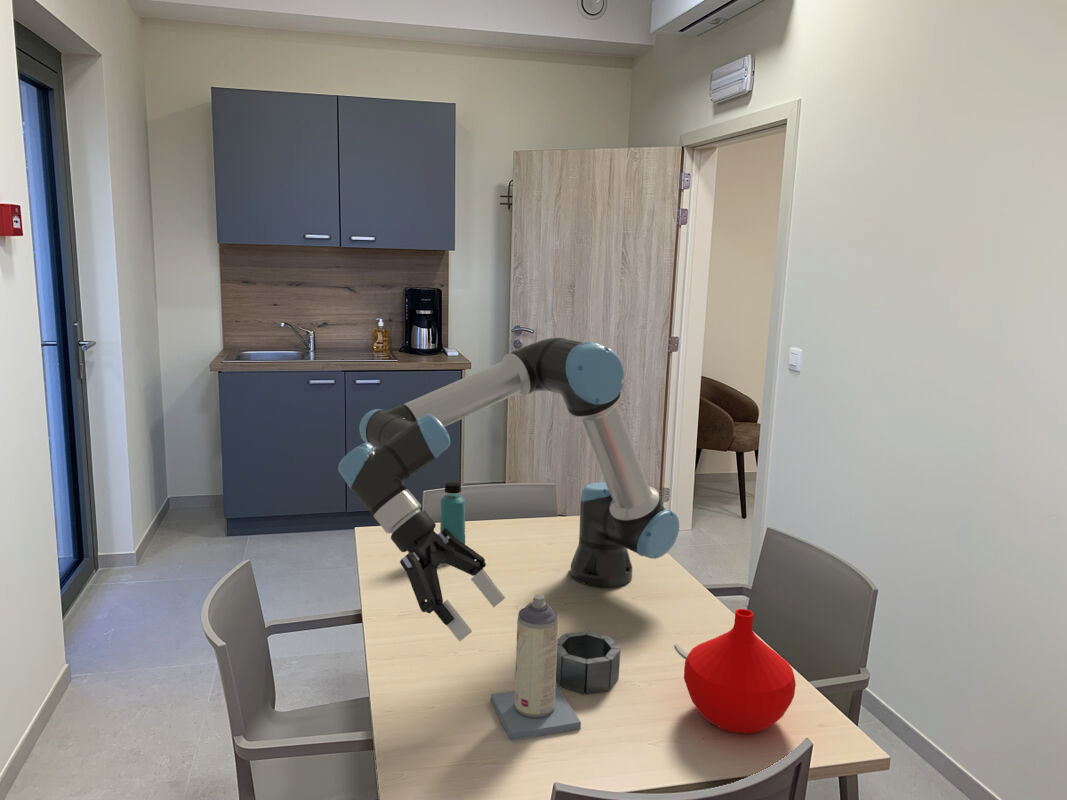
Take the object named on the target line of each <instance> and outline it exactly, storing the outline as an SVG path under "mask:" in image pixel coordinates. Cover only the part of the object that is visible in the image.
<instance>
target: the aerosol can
mask: <svg viewBox="0 0 1067 800" xmlns="http://www.w3.org/2000/svg"><path fill="white" fill-rule="evenodd" d="M558 616H559V615H558V612H557V611H556V610H555V609H554V608H552V606H550V605H549V604H548V603H547V602H546V601H545V596H544V595H542V594H535V595H533V600H532V601H531V602H530V603H528V604H527V605H525V607H524V608H523V607H522V608H521V609H520V610H519V611H518V616H517V622H516V623H517V624H516V646H515V647H516V651H515V655H516V656H515V678H514V679H515V683H514V685H515V686H514V691H515V707H514V708H515V710H516V712H517V713H518V714H519V715H521V716H523V717H526V718H530V719H541V718H545V717H548V716H550V715H551V714H552V713H553V712H554V708H555V686H557V682H556V663H557V640H558V639H559V637H558V636H559V635H558V633H559V617H558Z"/></svg>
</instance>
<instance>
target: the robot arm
mask: <svg viewBox="0 0 1067 800" xmlns="http://www.w3.org/2000/svg"><path fill="white" fill-rule="evenodd" d="M624 379H625V370H624V366H623V362H622V361H621V359H620V357H619V356H618V355H617V353H616V352H615V351H613V350H612V349H610V348H609V347H607V346H606V345H605V346H604V345H602V344H599V343H597V342H590V341H581V340H574V339H568V338H563V337H550V338H546V339H542V340H539V341H536V342H534V343H530V344H528V345H526V346H523V347H520V348H518V349H515V350H514V351H511V352H509V353H506V354H505V355H504V356H503V358H502V361H500V362H498V363H495V364H493V365H491V366H489V367H486V368H483V369H482V370H479V371H477V372H475V373H471V374H470V375H467V376H465V377H463V378H461V379H458V380H456V381H454V382H451V383H449V384H447V385H445V386H442V387H440V388H437V389H435V390H433V391H430V392H428V393H426V394H424V395H422V396H419V397H417V398H415V399H413V400H410V401H407V402H405V403H403V404H400V405H398V406H396V407H393V408H391V409H388V410H387V409H383V408H382V409H379V408H378V409H371V410H370V411H368V412H366V413H365V414H364V416H363V417H361V420H360V422H359V428H358V429H359V436H360V437H361V439H362V440H363V442H364V443H361V444H360V445H359V446H355V448H353V449H352V450H351V451H349V452H348V453H347V454H345V455H344V456H343V458H342V459H341V460H340V462H339V463H338V468H337V470H338V473H339V474H340V476H341V477H342V478H343V479H344V481H345V482H346V484H347V485H348V488H349V489H350V490H351V491H352V492H353V493H354V494H355V496H356V497H357V498H358V499H359V501H360V502H361V503H362V505H364V507H365V508H366V509H367V510H368V511H369V513H370V514H371V515H372V516H373V517H374V519H375V520H376V521H377V523H378V524H379V525H380V526H381V528H382V529H383V530H384V532H385V533H386V534H391V535H390V540H391V541H392V542H393V543H394V544H395V546H396V547H397V548H398V550H399V551H400V552H401V553H407V554H406V555H405V556H403V557H402V558H401V559H400V560H399V564H400V565H401V567H402V568H403V569H404V571H405V572H406V575H407V577H408V580H409V582H410V583H409V584H410V586H411V587H412V590H413V593H414V597H415V599H416V601H417V604H418V606H419V609H420V611H421V612H423V613H427V614H431V613H432V612H434V613H435V615H437V618H439V620H440V621H441V622H442V624H444V625H445V626H446V627H448V629H449V630H450V631H451V633H452V634H453V635H454V637H455V638H456V639H457V640H458V641H459V643H460V642H461V641H463V639H465V638H466V637H467V636H469V635H470V634H471V633H472V632H473V630H472V628H471V627H470V626H469V625H468V624H467V622H466V621H465V620H464V619H463V618H462V616H461V615H460V613H459V612H458V611H457V610H456V609H455V607H454V606H453V605H452V603H450V601H449V600H448V599H446V600H445V601H444V598H443V593H442V589H441V584H440V579H439V574H438V567H439V565H441V564H442V565H443V564H447V565H449V566H451V567H453V568H455V569H457V570H460V571H461V572H463V573H466V574H468V575H471V576H473V577H471V579H470V580H471V581H472V582H473V584H474V585H475V587H476V588H478V590H479V591H480V592H481V594H482V595H483V596H484V598H486V600H487V601H488V602H489V604H490V605H491V606H492V607H493V608H495V607H497V606H498V605H500V603H501V602H503V601H504V600H505V599H506V596H505V595H504V594H503V593H502V591H501V590H500V589H499V588H498V587H497V585H496V584H495V583H494V582H493V580H492V579H491V577H490V576H489V575H488V574H487V572H486V571H485V570H484V568H485V567H486V566H487V564H486V559H485V558H484V557H483V556H482V555H480V554H479V553H478V552H476V550H474V549H472V548H471V547H470V546H468V545H466V543H465V544H464V543H462V542H461V541H460V540H458V539H457V538H455V537H454V536H453V535H452V534H451V533H450V532H449V530H448V529H446V528H445V529H443V530H442V531H441V532H439V533H438V534H437V532H435V528H436V526H437V524H436V522H435V521H434V520H433V519H432V517H431V516H430V515H429V513H427V511H426V510H424V509H423V510H421V508H422V504H421V503H420V502H419V501H418V499H416V497H415V496H414V494H413V493H411V491H410V489H408V488H407V486H406V485H405V484H404V482H405V481H407V479H409V478H410V477H412V476H413V475H415V474H416V473H418V471H420V470H421V469H423V468H424V467H425V466H427V465H428V464H430V463H431V462H432V461H434V460H435V459H438V458H439V456H440V455H441V454H443V452H445V451H446V450H448V448H449V447H450V445H451V438H450V434H449V432H448V430H447V429H446V426H449V425H451V424H454V423H456V422H458V421H460V420H463V419H466V418H467V417H469V416H471V415H473V414H475V413H478V412H480V411H482V410H484V409H487V408H488V407H491V406H493V405H495V404H498V403H500V402H502V401H504V400H506V399H509V398H510V397H513V396H515V395H518V396H521V397H524V396H527V395H528V394H531V393H534V392H540V391H542V392H543V391H544V392H545V391H547V392H551V393H554V394H559V395H561V396H562V398H563V401H564V404H565V406H566V408H567V410H568V413H569V414H570V415H571V416H573V417H575V418H578V419H579V422H580V423H581V426H582V428H583V430H584V433H585V436H586V438H587V440H588V443H589V446H590V448H591V451H592V453H593V455H594V457H595V458H594V459H595V460H596V463H597V465H598V469H599V471H600V473H601V475H602V477H603V480H604V481H601V482H593V483H589V484H586V485H584V487H583V488H582V490H581V494H580V498H581V499H580V500H579V503H580V504H579V506H580V507H579V531H578V533H579V535H578V536H579V537H578V544H577V547H576V550H575V552H574V556H573V557H572V560H571V561H570V562H571V563H570V572H569V573H570V576H571V577H572V579H574V580H576V582H579V583H581V584H584V585H587V586H591V587H599V588H615V587H620V586H624V585H626V584H628V583H629V582H631V581H632V579H633V566H632V565H633V564H632V561H631V557H630V554H629V551H628V550H630V551H632V552H634V553H636V554H637V555H639V556H640V557H645V558H648V559H655V560H656V559H659V558H661V557H663V556H665V555H666V554H668V552H669V551H670V550H671V549H672V548H673V547H674V545H675V543H676V541H677V538H678V535H679V532H680V520H679V517H678V516H677V514H676V513H675V512H673V510H671V509H668V508H667V509H666V508H665V507H664V505H663V501H662V499H661V497H660V494H659V492H658V490H657V489H656V488H654V487H652V486H649V484H648V481H647V478H646V475H645V473H644V471H643V468H642V466H641V463H640V460H639V457H638V454H637V452H636V450H635V449H636V448H635V446H634V445H633V444H634V443H633V441H632V440H631V437H630V434H629V430H628V429H627V426H626V422H625V420H624V417H623V415H622V412H621V410H620V407H619V404H618V403H619V401H620V399H621V397H622V392H621V391H622V388H623V385H624V383H623V382H622V381H623V380H624Z"/></svg>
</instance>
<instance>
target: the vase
mask: <svg viewBox="0 0 1067 800" xmlns="http://www.w3.org/2000/svg"><path fill="white" fill-rule="evenodd" d="M734 614H735V615H734V622H733V623H734V624H733V627H732V628H731V629H730V630H729V631H727V632H724V633H723V634H720V635H719V636H716V637H714V638H712V639H709V640H707V641H704V642H701V643H699V644H697V645H696V646H694V647H693V648H692V649H691V650H690V651H689V652H688V656H687V658H685V659H684V660H685V661H684V667H683V668H684V669H683V670H684V672H683V680H684V683H685V686H686V688H687V691H688V692H687V693H688V694H689V697H690V699H691V702H692V704H693V705H694V706H695V708H696V709H697V710H698V711H699V713H700V714H701V716H703V718H705V719H706V720H707V721H709V722H710V723H711V724H713V725H714V726H715V727H717V728H720V729H721V730H724V731H728V732H730V733H735V734H744V735H745V734H754V733H757V732H761V731H764V730H767V729H768V728H770V727H772V726H773V725H774V724H775V723H776V722H778V721H779V720H780V719H782V718H783V717H784V715H785V714H786V711H787V710H788V709H789V707H790V706H791V703H792V701H793V700H794V697H795V692H796V685H797V683H796V678H795V673H794V670H793V668H792V667H791V665H790V663H789V662H788V661H787V660H786V659H785V658H784V657H783V656H781V655H780V654H779V653H778V652H777V651H775V650H774V649H772V648H771V647H770V646H769V645H767V644H766V643H765V642H764V641H763V640H761V639H760V638H759V637H758V636H757V635H756V634H755V632H754V629H753V625H754V624H753V623H754V612H753V611H751V610H749V609H745V608H738V609H736V610H735V613H734Z"/></svg>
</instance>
